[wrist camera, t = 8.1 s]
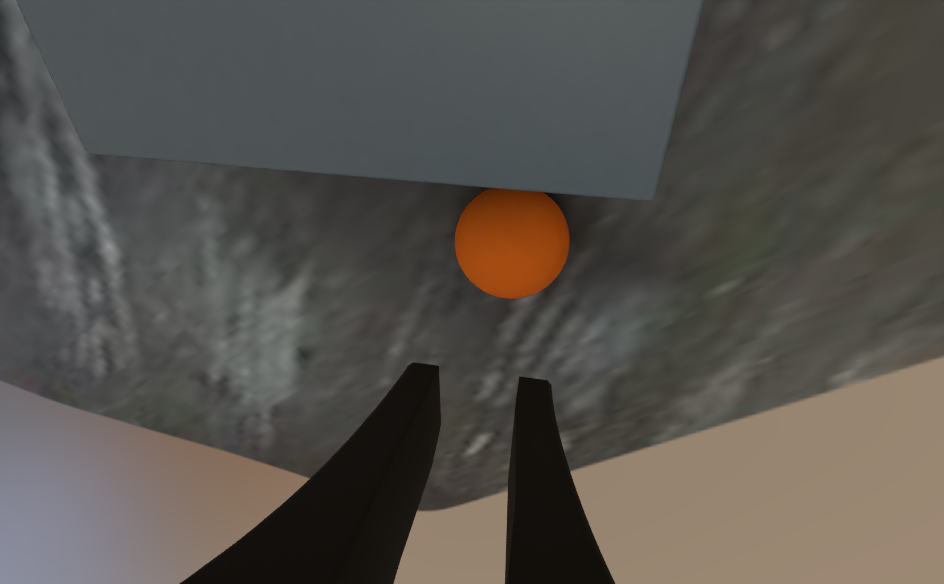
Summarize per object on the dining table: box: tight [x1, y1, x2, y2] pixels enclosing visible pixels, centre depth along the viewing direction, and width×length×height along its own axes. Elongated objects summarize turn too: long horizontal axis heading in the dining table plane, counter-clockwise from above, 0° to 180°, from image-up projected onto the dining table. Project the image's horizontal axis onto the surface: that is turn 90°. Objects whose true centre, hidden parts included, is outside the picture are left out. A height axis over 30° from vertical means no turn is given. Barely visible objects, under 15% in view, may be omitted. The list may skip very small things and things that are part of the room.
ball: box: [455, 188, 570, 298], centre depth 17 cm, size 4×4×4 cm
